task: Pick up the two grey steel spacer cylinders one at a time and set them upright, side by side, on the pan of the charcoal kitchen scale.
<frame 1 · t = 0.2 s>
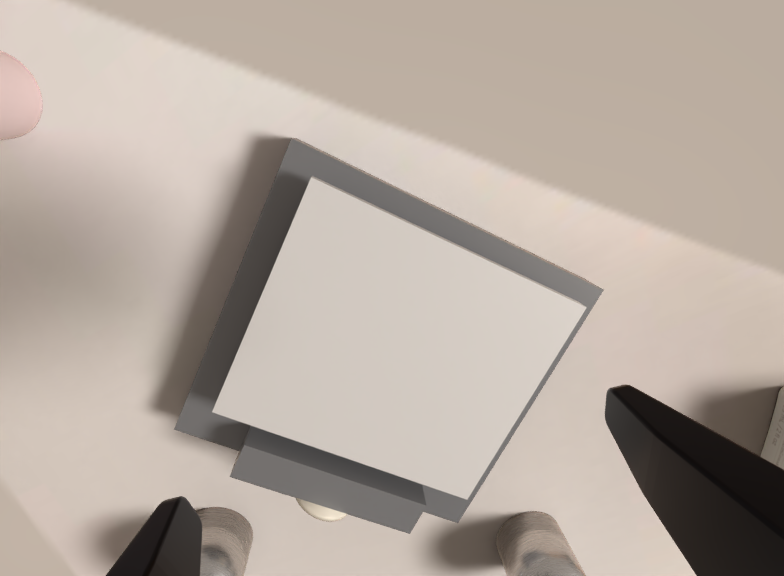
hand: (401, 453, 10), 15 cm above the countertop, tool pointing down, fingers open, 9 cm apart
steel spacer 2: (527, 537, 31), on the countertop
smoothie: (0, 95, 20), on the countertop
scale: (384, 344, 25), on the countertop
steel spacer 1: (217, 535, 29), on the countertop
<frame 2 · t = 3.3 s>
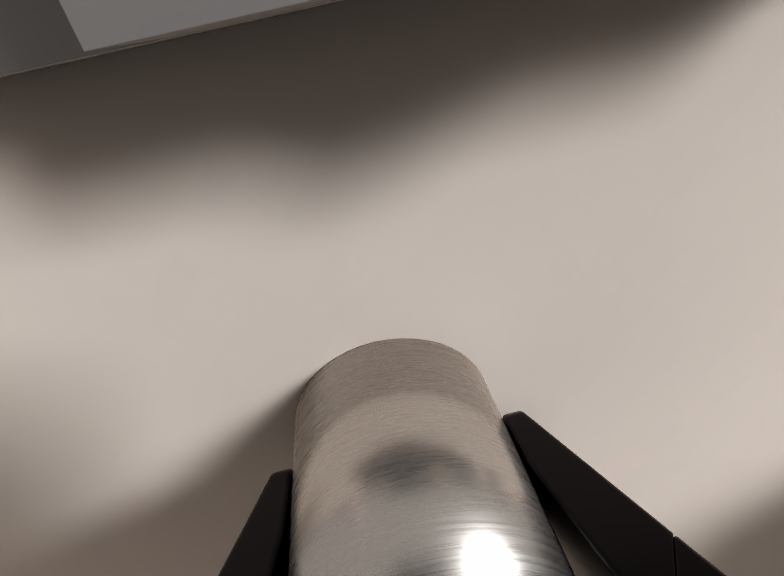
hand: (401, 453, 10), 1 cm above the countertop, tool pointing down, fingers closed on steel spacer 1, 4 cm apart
steel spacer 1: (393, 416, 10), on the countertop, touching gripper
when the fingers open (6 cm above the countertop, at t = 7.5 s): steel spacer 1 drops 2 cm, resting on scale.
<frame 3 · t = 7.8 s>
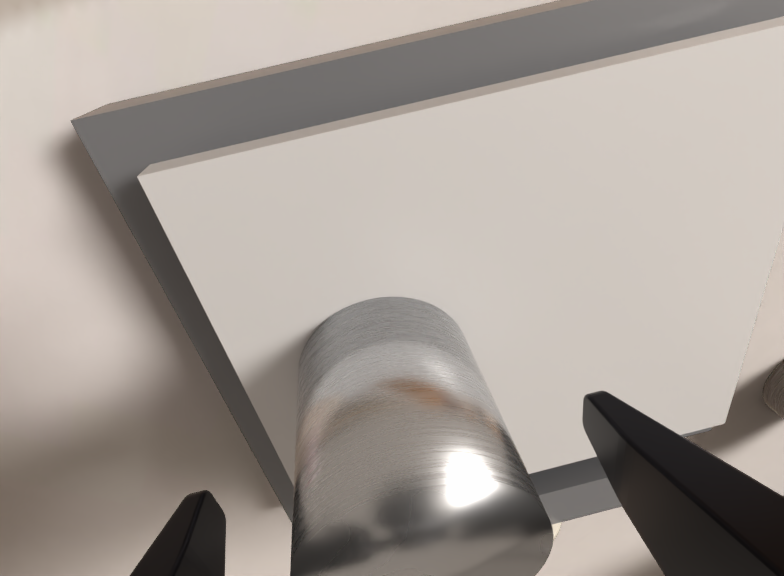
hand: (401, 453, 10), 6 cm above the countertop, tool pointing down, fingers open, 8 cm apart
scale: (474, 291, 16), on the countertop
steel spacer 1: (385, 368, 12), point 4 cm above the countertop, touching scale
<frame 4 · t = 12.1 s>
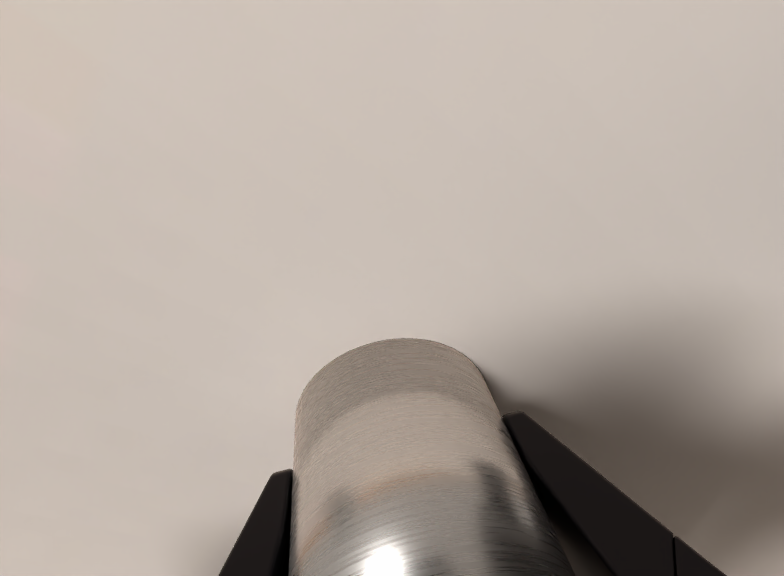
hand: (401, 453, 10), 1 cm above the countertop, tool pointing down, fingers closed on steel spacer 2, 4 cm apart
steel spacer 2: (394, 416, 10), on the countertop, touching gripper
when the fingers open (6 cm above the countertop, at t = 16.4 s): steel spacer 2 drops 2 cm, resting on scale.
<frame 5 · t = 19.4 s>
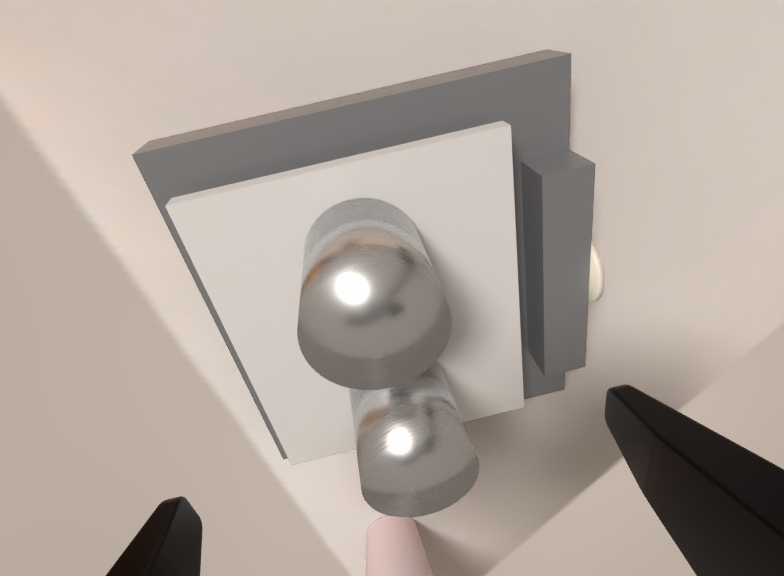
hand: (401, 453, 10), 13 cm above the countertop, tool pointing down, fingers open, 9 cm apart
steel spacer 2: (363, 253, 17), point 4 cm above the countertop, touching scale
smoothie: (391, 527, 34), on the countertop
scale: (391, 277, 22), on the countertop
steel spacer 1: (397, 386, 21), point 4 cm above the countertop, touching scale
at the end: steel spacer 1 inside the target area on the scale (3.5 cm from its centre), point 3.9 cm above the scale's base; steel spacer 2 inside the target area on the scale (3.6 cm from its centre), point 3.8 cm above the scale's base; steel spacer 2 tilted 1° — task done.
